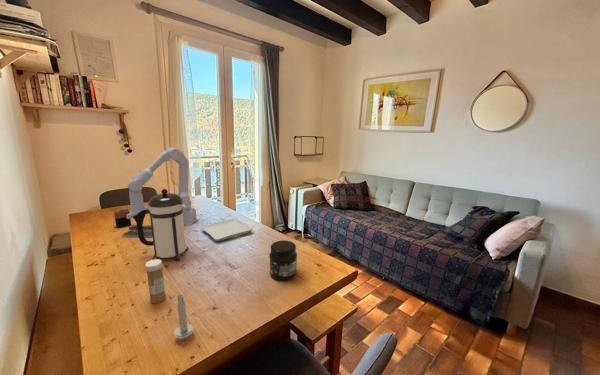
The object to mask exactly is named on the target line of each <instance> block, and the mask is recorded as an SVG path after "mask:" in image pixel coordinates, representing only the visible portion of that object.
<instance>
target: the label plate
mask: <svg viewBox="0 0 600 375" xmlns="http://www.w3.org/2000/svg"><path fill="white" fill-rule="evenodd" d="M143 234H144V238H145V239H146V238H147V239H153V236H152V230H143ZM121 236H122V238H138V239H139V237H138V231H137V230H129V231H127V232H124V233H123V234H121Z"/></svg>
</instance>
